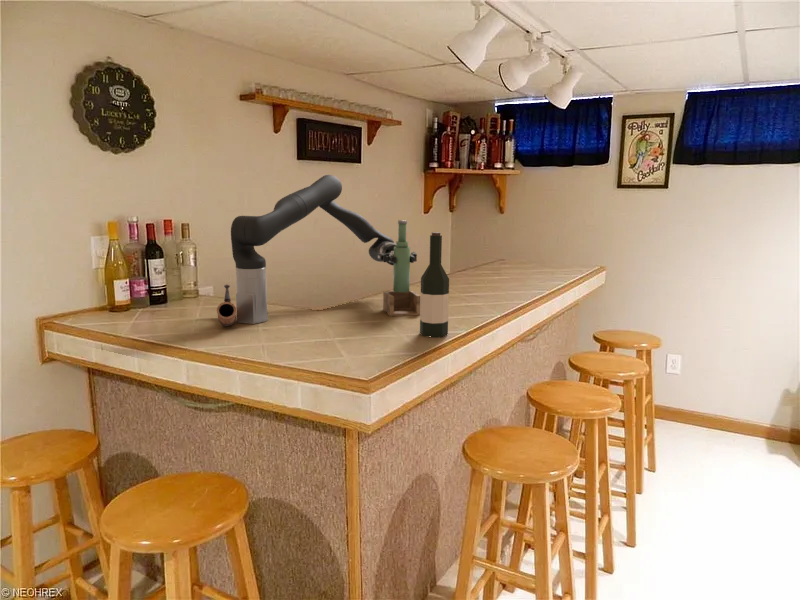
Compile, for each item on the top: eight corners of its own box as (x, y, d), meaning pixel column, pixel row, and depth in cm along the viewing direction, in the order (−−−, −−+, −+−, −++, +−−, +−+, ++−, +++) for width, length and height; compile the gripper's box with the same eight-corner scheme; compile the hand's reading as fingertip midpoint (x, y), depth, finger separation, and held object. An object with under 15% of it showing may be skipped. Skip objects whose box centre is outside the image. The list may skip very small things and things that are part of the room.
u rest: (420, 314, 201) (420, 295, 200) (390, 316, 199) (390, 296, 197) (411, 308, 211) (412, 290, 210) (383, 309, 209) (383, 291, 207)
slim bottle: (407, 292, 200) (408, 221, 195) (391, 291, 202) (392, 220, 197) (411, 289, 206) (412, 220, 201) (395, 288, 207) (396, 219, 202)
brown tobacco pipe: (217, 334, 172) (216, 300, 170) (219, 313, 200) (218, 284, 198) (237, 333, 174) (235, 300, 172) (236, 312, 202) (235, 283, 200)
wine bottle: (445, 338, 171) (448, 234, 165) (417, 336, 173) (419, 233, 167) (449, 331, 179) (452, 231, 173) (422, 329, 181) (424, 231, 175)
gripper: (372, 243, 212) (383, 249, 196) (411, 242, 216) (424, 248, 200) (372, 264, 214) (382, 271, 198) (410, 263, 218) (424, 270, 202)
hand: (403, 259), depth 199 cm, fingers closed on slim bottle, 5 cm apart
